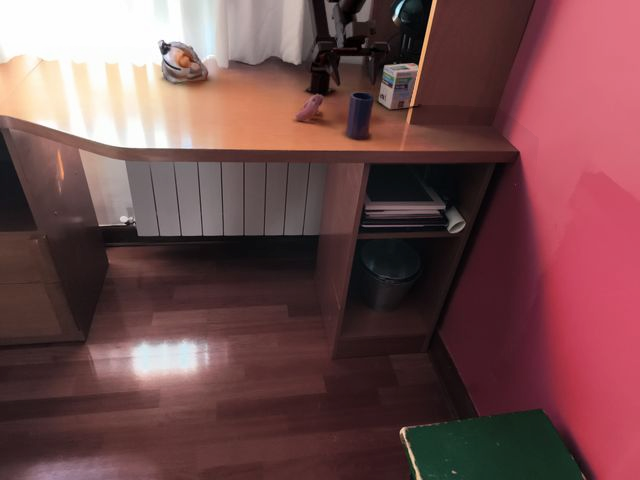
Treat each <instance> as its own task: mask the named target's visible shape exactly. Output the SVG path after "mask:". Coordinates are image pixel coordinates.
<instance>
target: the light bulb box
mask: <svg viewBox="0 0 640 480" xmlns="http://www.w3.org/2000/svg"><path fill="white" fill-rule="evenodd" d="M418 66H419V65H418V64H416V63H414V62H411V63H399V64H385V65H384V66H383V72H382V78H381V83H380V88H379V89H380V90H379V95H378V101H377V102H378V103H380V104H381V105H383V106H384V107H386V108H387V109H388V110H398V109H408V108H411V107H410V102H411V98H412V94H413V89H414V84H415V80H416V76H417V71H418Z"/></svg>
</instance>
